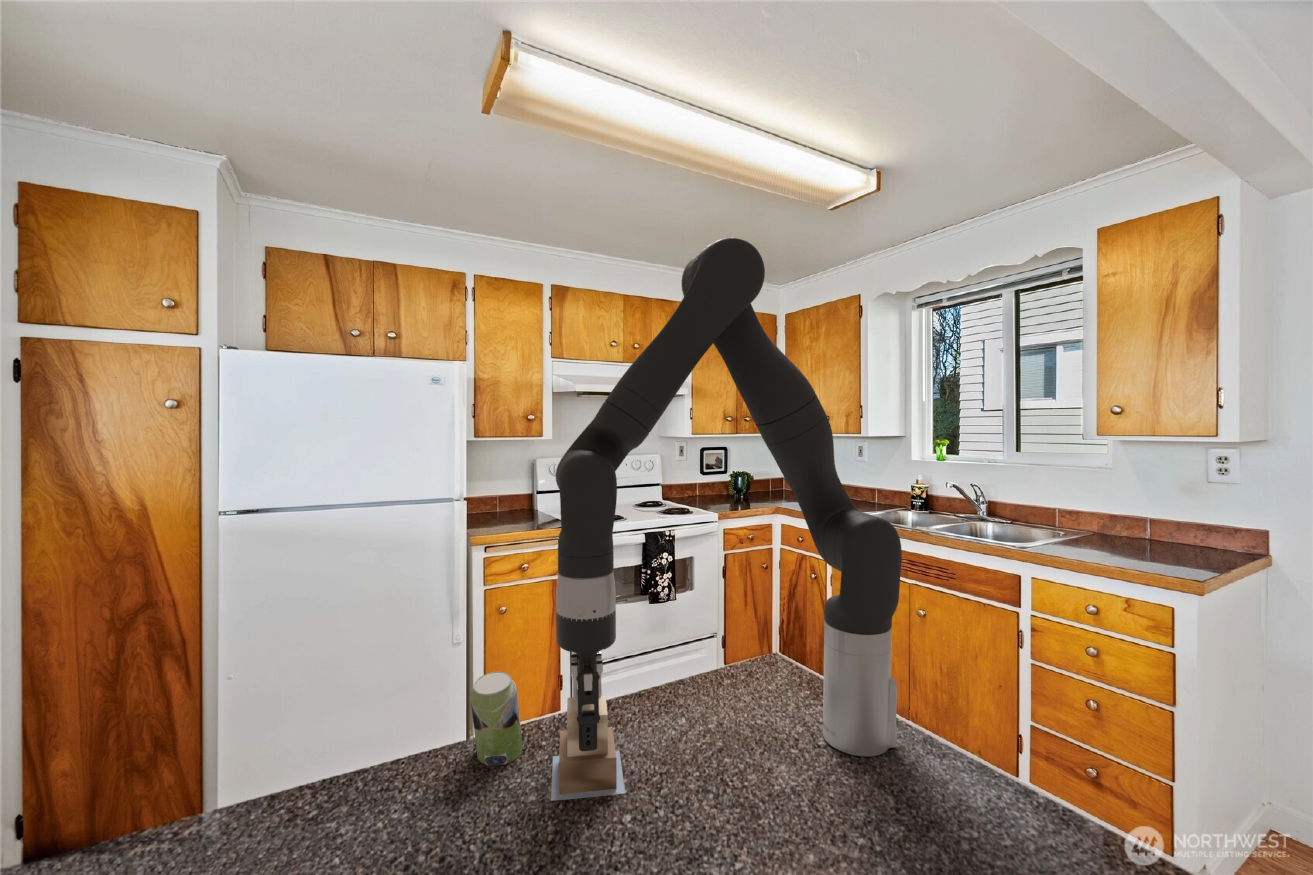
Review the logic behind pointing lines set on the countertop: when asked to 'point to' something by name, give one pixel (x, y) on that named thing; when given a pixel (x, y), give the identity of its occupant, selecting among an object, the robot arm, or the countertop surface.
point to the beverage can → (496, 719)
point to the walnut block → (587, 769)
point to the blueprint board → (619, 790)
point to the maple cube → (574, 728)
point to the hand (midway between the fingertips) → (587, 730)
